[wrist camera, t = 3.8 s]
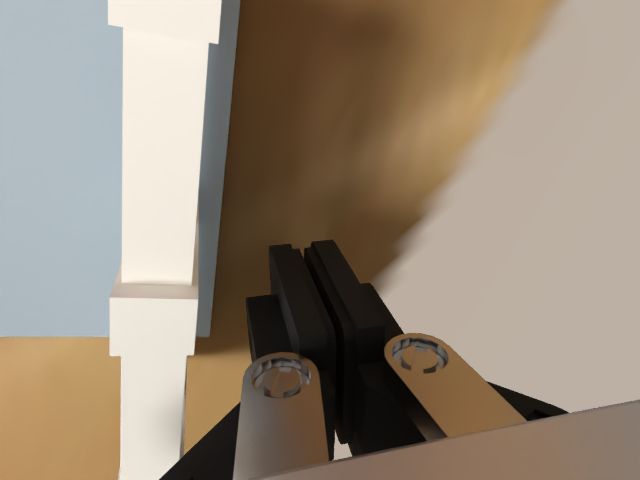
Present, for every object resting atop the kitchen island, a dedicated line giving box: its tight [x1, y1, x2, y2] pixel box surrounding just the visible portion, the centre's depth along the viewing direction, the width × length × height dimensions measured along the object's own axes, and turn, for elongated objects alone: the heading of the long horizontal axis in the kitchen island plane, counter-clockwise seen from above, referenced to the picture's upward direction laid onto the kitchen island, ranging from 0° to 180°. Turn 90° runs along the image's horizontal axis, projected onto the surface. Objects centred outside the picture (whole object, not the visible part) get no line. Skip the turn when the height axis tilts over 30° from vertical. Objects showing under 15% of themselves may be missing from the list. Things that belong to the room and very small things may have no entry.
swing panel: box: [108, 0, 222, 480], centre depth 9 cm, size 10×1×5 cm, turn 170°
